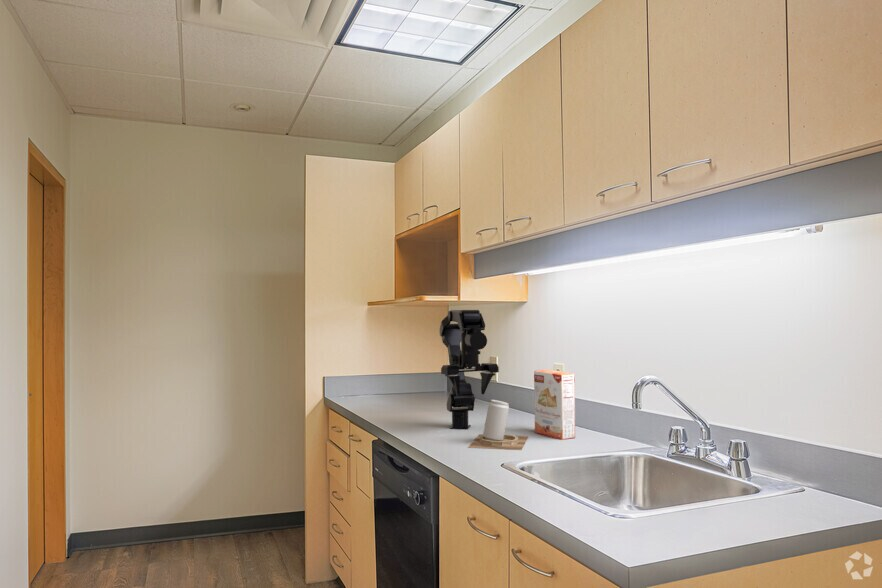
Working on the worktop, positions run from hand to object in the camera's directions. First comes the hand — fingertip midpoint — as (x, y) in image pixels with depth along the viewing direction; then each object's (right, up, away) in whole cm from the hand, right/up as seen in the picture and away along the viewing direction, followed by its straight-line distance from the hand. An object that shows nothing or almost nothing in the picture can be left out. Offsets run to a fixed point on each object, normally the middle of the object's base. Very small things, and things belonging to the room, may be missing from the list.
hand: (470, 395), depth 214 cm
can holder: (+8, -13, -13) cm, 20 cm away
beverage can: (+6, -12, -13) cm, 19 cm away
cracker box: (+27, -13, -3) cm, 30 cm away
